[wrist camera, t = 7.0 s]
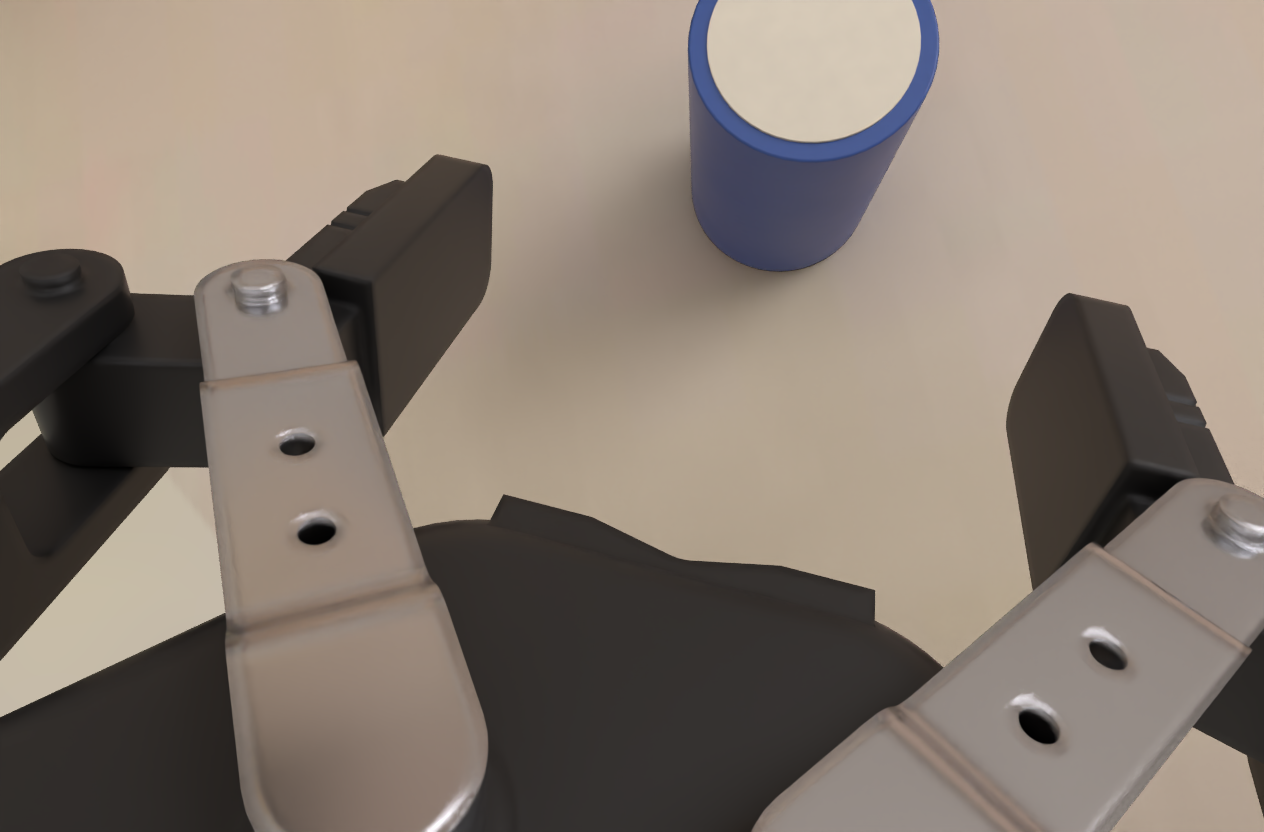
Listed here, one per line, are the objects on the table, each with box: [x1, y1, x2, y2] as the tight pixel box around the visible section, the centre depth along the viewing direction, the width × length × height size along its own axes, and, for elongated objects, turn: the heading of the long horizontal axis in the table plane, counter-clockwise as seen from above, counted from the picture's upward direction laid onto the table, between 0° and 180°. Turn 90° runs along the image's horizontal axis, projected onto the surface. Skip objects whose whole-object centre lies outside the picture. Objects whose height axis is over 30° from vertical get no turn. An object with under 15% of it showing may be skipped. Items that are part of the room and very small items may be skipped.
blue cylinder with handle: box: [688, 0, 939, 271], centre depth 22 cm, size 5×10×8 cm, turn 166°
